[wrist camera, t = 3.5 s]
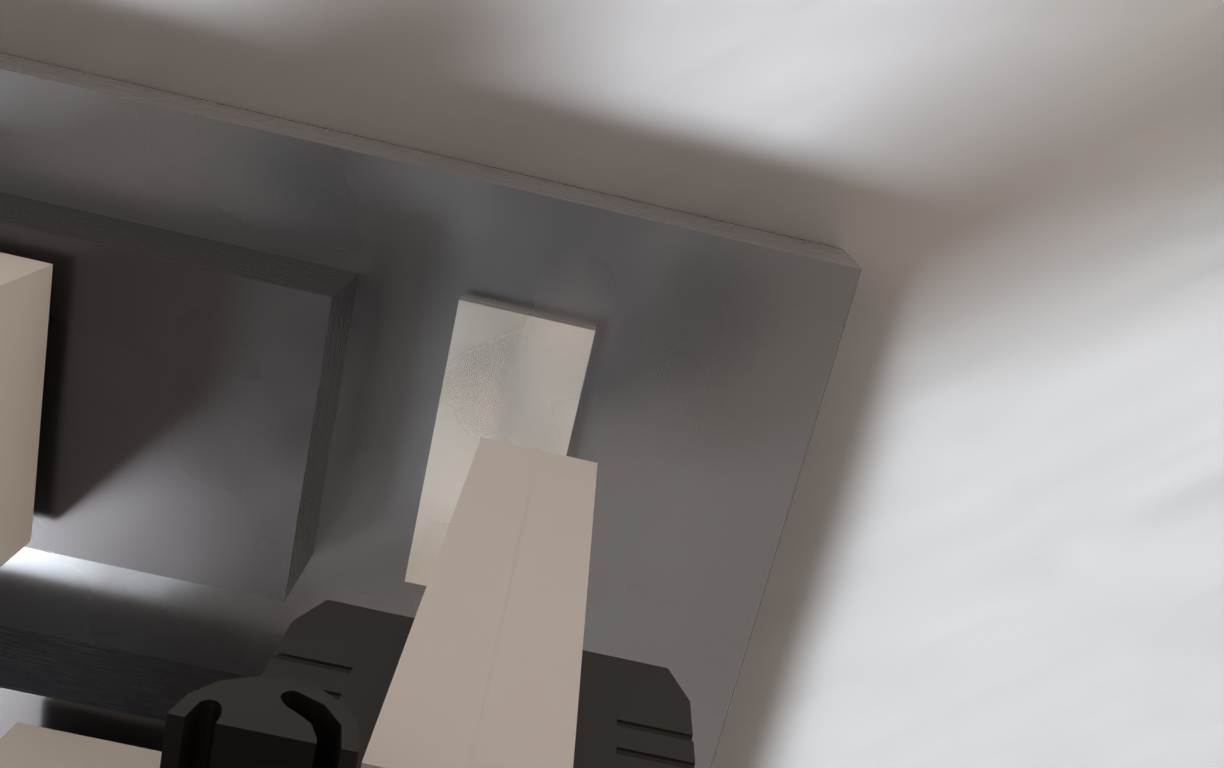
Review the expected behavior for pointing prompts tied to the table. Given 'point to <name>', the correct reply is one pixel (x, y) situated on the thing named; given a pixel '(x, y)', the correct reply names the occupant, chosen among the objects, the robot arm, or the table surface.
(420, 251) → the panel
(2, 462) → the block
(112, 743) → the breaker
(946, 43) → the table surface
